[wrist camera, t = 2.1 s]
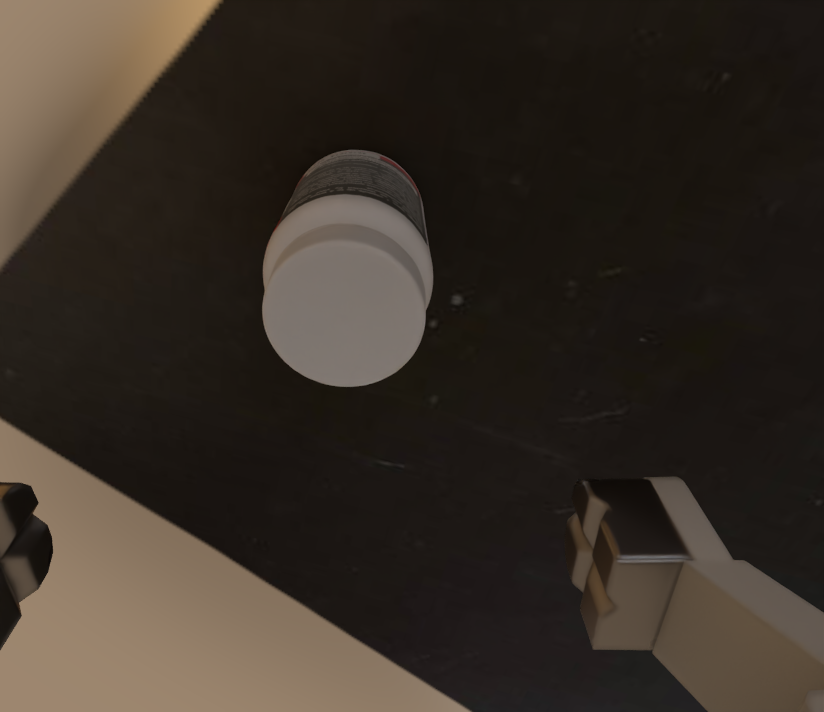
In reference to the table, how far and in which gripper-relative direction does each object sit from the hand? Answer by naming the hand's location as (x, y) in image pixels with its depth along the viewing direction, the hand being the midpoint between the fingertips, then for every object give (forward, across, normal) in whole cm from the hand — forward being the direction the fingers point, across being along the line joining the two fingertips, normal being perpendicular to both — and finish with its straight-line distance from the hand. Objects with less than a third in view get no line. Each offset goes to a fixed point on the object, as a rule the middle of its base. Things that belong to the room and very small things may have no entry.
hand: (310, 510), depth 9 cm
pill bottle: (+15, 0, 0) cm, 15 cm away
